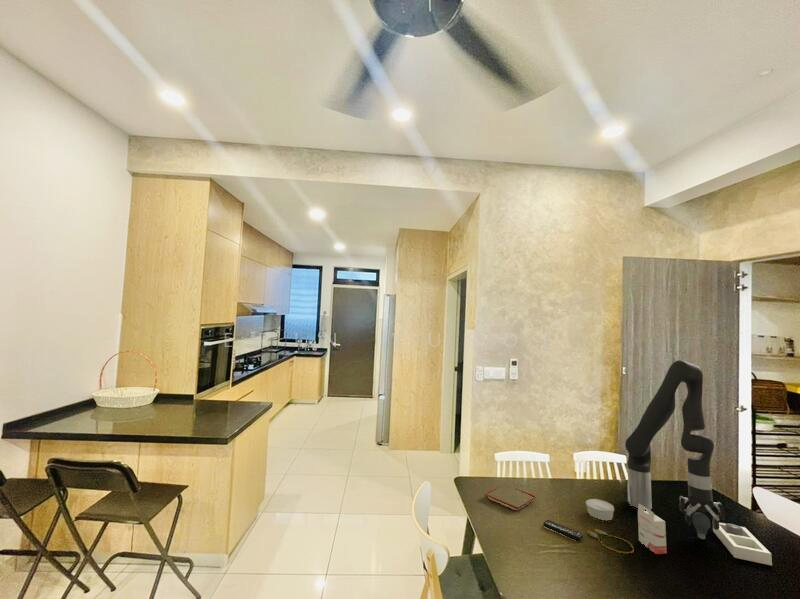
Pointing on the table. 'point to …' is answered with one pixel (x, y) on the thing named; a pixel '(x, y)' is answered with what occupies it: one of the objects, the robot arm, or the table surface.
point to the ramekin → (600, 509)
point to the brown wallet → (509, 503)
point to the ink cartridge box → (651, 530)
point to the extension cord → (609, 535)
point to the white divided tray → (742, 543)
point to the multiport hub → (563, 530)
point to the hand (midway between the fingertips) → (702, 526)
